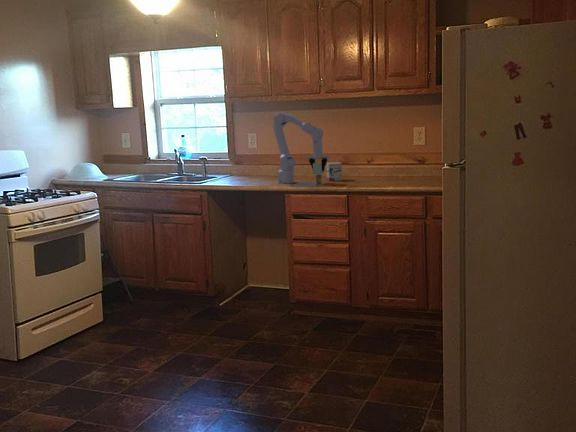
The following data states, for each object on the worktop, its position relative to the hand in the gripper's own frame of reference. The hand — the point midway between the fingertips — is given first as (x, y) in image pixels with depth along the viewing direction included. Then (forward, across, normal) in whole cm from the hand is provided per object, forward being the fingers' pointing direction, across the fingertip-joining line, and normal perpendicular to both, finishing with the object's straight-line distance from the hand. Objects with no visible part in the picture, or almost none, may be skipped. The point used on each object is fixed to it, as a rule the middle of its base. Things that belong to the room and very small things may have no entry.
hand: (318, 171), depth 397 cm
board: (+8, -5, -5) cm, 11 cm away
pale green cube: (+2, 0, 0) cm, 2 cm away
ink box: (+8, +6, +13) cm, 17 cm away
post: (+7, 0, 0) cm, 7 cm away
